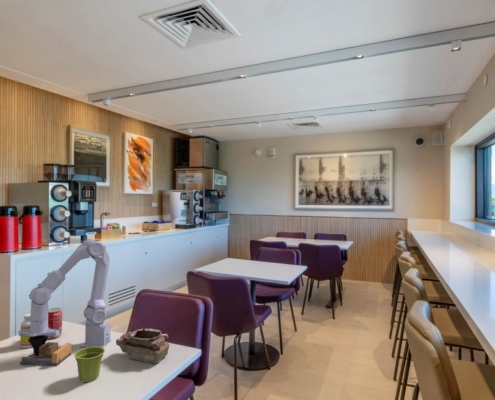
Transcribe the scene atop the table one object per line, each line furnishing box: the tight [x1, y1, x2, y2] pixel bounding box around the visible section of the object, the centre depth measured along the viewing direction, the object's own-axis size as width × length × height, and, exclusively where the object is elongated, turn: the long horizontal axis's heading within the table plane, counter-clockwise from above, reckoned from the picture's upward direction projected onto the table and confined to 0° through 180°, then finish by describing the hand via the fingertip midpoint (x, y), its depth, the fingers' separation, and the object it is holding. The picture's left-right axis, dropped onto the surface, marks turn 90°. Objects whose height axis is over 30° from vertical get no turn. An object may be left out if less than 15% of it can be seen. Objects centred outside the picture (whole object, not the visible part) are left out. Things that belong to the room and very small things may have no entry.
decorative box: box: [115, 328, 170, 365], centre depth 125 cm, size 13×20×10 cm, turn 66°
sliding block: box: [39, 341, 59, 357], centre depth 123 cm, size 4×5×5 cm
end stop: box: [52, 342, 72, 363], centre depth 123 cm, size 2×9×4 cm, turn 178°
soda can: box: [47, 307, 63, 340], centre depth 145 cm, size 7×7×12 cm
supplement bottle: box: [19, 312, 33, 349], centre depth 136 cm, size 7×7×13 cm
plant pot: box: [73, 347, 106, 383], centre depth 111 cm, size 9×9×9 cm
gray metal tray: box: [19, 349, 72, 367], centre depth 123 cm, size 14×9×2 cm, turn 88°
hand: (38, 354), depth 124 cm, fingers closed
